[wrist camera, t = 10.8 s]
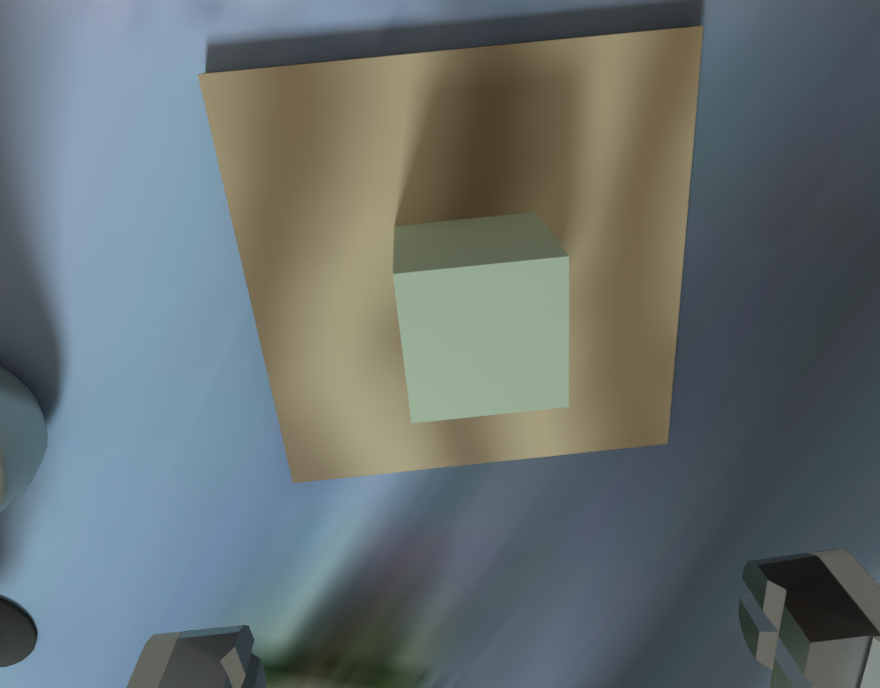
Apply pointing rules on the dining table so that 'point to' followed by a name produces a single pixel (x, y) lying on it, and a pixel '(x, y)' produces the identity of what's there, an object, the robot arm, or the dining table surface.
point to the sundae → (15, 635)
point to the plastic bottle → (19, 437)
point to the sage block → (482, 316)
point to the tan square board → (453, 198)
